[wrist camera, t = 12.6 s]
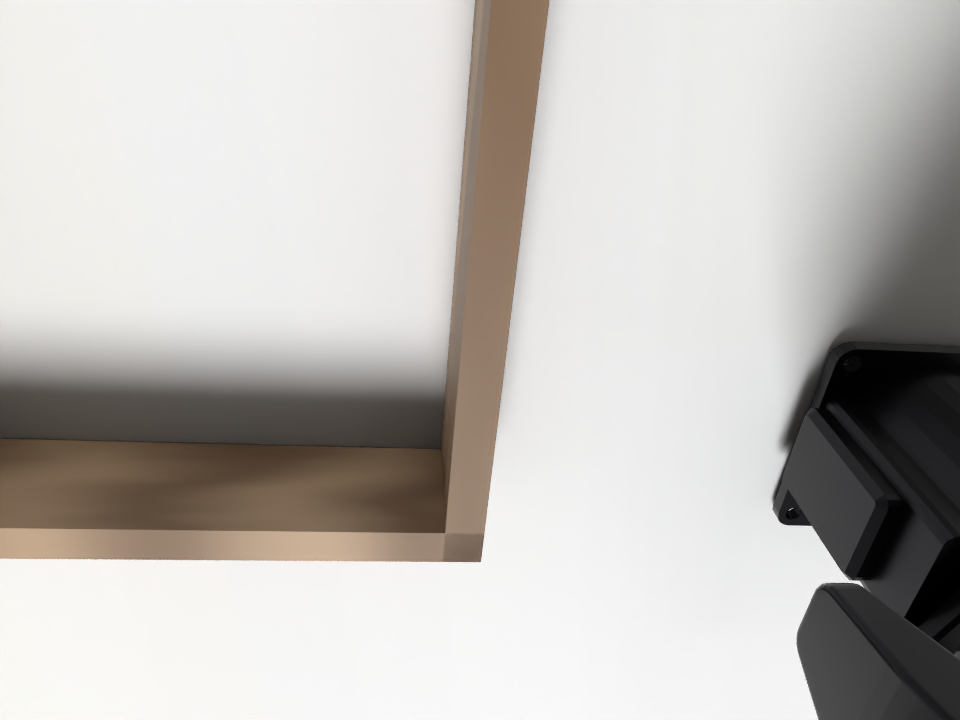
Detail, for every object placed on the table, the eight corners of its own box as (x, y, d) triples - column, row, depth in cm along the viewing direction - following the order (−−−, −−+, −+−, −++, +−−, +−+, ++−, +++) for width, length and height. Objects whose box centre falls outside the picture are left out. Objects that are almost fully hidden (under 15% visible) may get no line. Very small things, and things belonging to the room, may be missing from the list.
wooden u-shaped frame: (579, -540, 12) (633, -692, 9) (471, 476, 23) (480, 561, 20) (-557, -736, 10) (-958, -1005, 7) (-98, 464, 21) (-184, 557, 18)
